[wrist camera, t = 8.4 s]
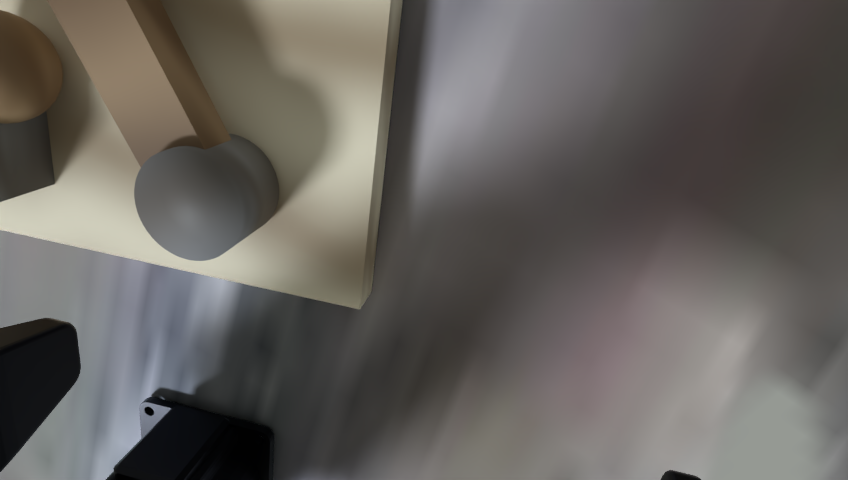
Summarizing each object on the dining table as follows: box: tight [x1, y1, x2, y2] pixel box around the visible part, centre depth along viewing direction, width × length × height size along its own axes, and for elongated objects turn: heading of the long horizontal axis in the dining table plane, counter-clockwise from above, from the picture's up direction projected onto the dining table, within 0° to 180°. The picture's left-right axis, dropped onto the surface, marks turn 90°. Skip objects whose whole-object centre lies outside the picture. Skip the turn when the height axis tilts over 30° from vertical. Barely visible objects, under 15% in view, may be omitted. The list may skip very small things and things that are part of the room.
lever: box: [47, 0, 279, 261], centre depth 14 cm, size 16×4×10 cm, turn 24°
